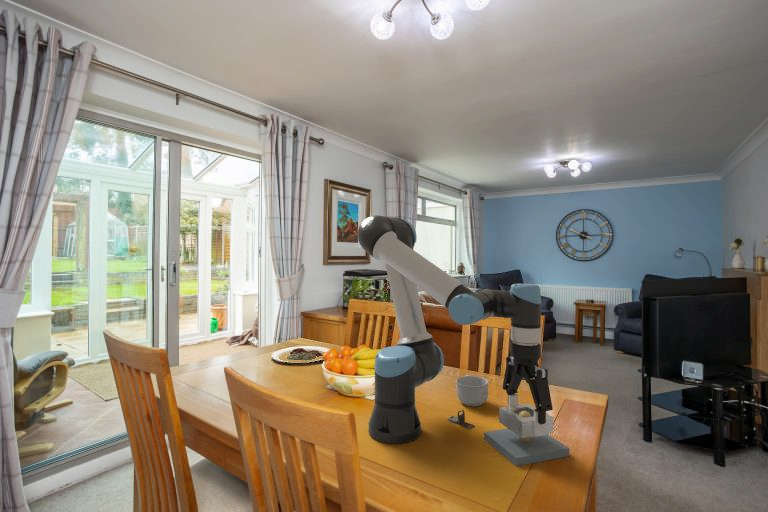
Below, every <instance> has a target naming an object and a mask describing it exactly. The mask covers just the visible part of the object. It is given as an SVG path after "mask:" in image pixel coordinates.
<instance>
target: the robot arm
mask: <svg viewBox="0 0 768 512" xmlns="http://www.w3.org/2000/svg"><path fill="white" fill-rule="evenodd" d="M357 240H358V243H359V245H360V247H361V248H362V249H363V251H365V252H366V253H367V254H369V255H370V256H371V257H372V258H374V259H375V260H377V261H380V262H381V263H382V264H384V265H385V269H386V273H387V279H388V283H389V288H390V293H391V299H392V302H393V307H394V313H395V317H396V322H397V326H398V330H399V336H400V337H399V339H398V340H397V343H396V345H393V346H386V347H383V348H382V349H380V350H379V351H378V352H377V353H376V355H375V359H374V366H373V369H374V406H373V408H372V411H371V415H370V417H369V421H368V434H369V436H371V437H372V438H373V439H374V440H377V441H379V442H381V443H386V444H405V443H409V442H412V441H414V440H416V439H418V438H419V437H420V436H421V433H422V423H421V419H420V416H419V413H418V410H417V407H416V388H417V387H419V386H421V385H423V384H425V383H427V382H430V381H432V380H434V379H435V377H437V376H438V375H439V374H440V373H441V372H442V370H443V368H444V363H445V362H444V361H445V359H444V352H443V351H442V349H441V347H440V346H438V345H437V343H435V342H434V337H433V335H432V334H431V333H429V332H428V331H427V328H426V324H425V319H424V314H423V309H422V305H421V301H420V300H421V299H420V295H419V291H418V288H420V289H421V290H422V291H423V292H425V293H426V294H427V295H429V297H431V298H433V299H434V300H435V301H436V302H438V303H439V304H440V305H442V306H443V307H444V308H446V309H448V314H449V316H450V318H451V320H452V321H454V322H455V323H456V324H458V325H461V326H462V325H463V326H465V325H468V326H469V325H473V324H474V325H475V324H476V323H478V322H480V321H484V320H487V319H489V318H501V319H502V318H504V319H510V340H511V342H510V356H507V357H505V362H506V363H505V364H506V365H505V371H504V376H503V381H502V390H504V391H506V394H507V406H514V405H519V394H518V393H519V392H518V389H519V387H520V385H521V382H522V380H523V379H525V382H526V384H528V387H529V390H530V393H531V396H532V399H533V403H534V405H535V406H534V407H536V409H534V436H536V437H537V436H542V435H545V423H546V413H547V412H549V411H553V402H552V396H551V391H550V386H549V380H548V376H549V375H548V373H549V372H548V371H549V370H548V369H547V368H541V367H540V366H539V360H540V359H541V358H542V345H541V344H540V343H541V342H542V329H541V328H542V320H541V319H542V296H541V294H542V293H541V287H540V286H539V285H538V284H533V283H513V284H511V285H510V289H509V290H500V289H499V290H497V289H486V288H477V289H476V288H473V289H470V288H468V287H467V286H465V285H464V284H463V283H462V282H460V281H458V280H457V279H456V278H454V277H453V276H451V275H450V274H448V273H447V272H446V271H444V270H443V269H442V268H440V267H439V266H437V265H436V264H434V263H433V262H431V261H429V260H428V259H427V258H426V257H424V256H423V255H422V254H420V253H418V252H417V251H416V250H414V247H415V244H416V243H417V231H416V229H415V227H414V226H413V224H412V223H411V222H409V221H408V220H406V219H403V218H401V217H395V216H394V217H391V216H384V215H377V214H376V215H371V216H369V217H366V218H365V219H363V220H362V221H361V223H360V224H359V227H358V229H357Z"/></svg>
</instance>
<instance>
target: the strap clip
mask: <svg viewBox="0 0 768 512" xmlns="http://www.w3.org/2000/svg"><path fill="white" fill-rule="evenodd" d="M464 410H465V409H460V410H458V411H457V416H455V415H452V416H449V417H447V421H449V422H451V423H453V424H459V425H460V427H463V428H466V429H469V430H472V429H474V428H475V427H476V425H474V424H472V423H470V422H467V421H466V415H465V411H464ZM461 412H462V413H461ZM460 413H461V414H460Z"/></svg>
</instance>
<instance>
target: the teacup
mask: <svg viewBox="0 0 768 512" xmlns="http://www.w3.org/2000/svg"><path fill="white" fill-rule="evenodd" d="M455 383H456V384H455V386H456V396H457V399H458V400H459V402H461V403H462V404H464V405H465V406H467V407H474V408H475V407H480V406H482V405H484V403H486V402H487V400H488V398H489V380H488V379H487V378H485V377H483V376H478V375H470V374H465V375H464V376H460V377H458V378H456V379H455Z"/></svg>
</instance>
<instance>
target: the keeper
mask: <svg viewBox="0 0 768 512" xmlns="http://www.w3.org/2000/svg"><path fill="white" fill-rule="evenodd" d="M519 415H520V416H521V417H523V418H526V417H531V414H530V413H529V412H527V411H522V412H520V414H519ZM483 439H484V441H485V442H487V444H489V445H490V446H491V447H492V448H493V449H495V450H496V451H497V452H498V453H500V454H501V455H502V456H503V457H505V458H506V459H507V460H508V461H509V462H510V463H511V464H513V465H514V466H515V467H519V466H526V465H530V464H535V463H539V462H540V463H541V462H545V461H551V460H556V459H560V458H565V457H569V456H570V447H569V446H567V445H565V444H564V443H562V442H561V441H559V440H557V439H556V438H555V437H553V436H551V435H549V434H545V435H542V436H537V437H536V436H532V437H526V438H521V437H520V436H518V435H517V434H515V433H514V432H513V431H511V430H510V429H508V428H507V427H506V428H502V429H495V430H488V431H484V432H483Z"/></svg>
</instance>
